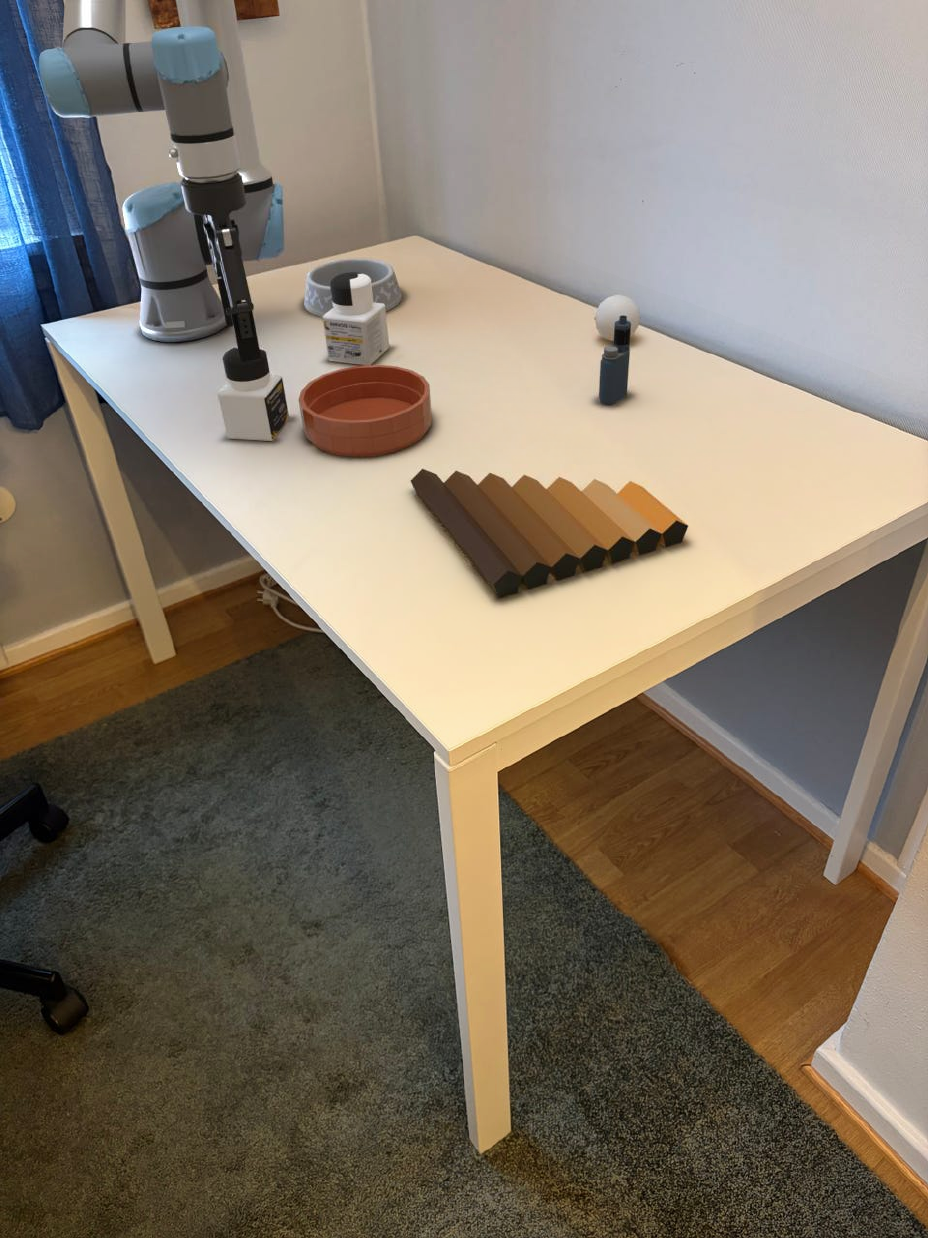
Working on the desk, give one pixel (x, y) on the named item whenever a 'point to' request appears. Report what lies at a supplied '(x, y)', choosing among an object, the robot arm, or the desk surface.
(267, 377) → the medicine bottle
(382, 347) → the container
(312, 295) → the dog bowl
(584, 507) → the pan flute
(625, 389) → the vaping device
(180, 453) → the desk surface
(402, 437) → the bowl
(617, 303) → the white egg
